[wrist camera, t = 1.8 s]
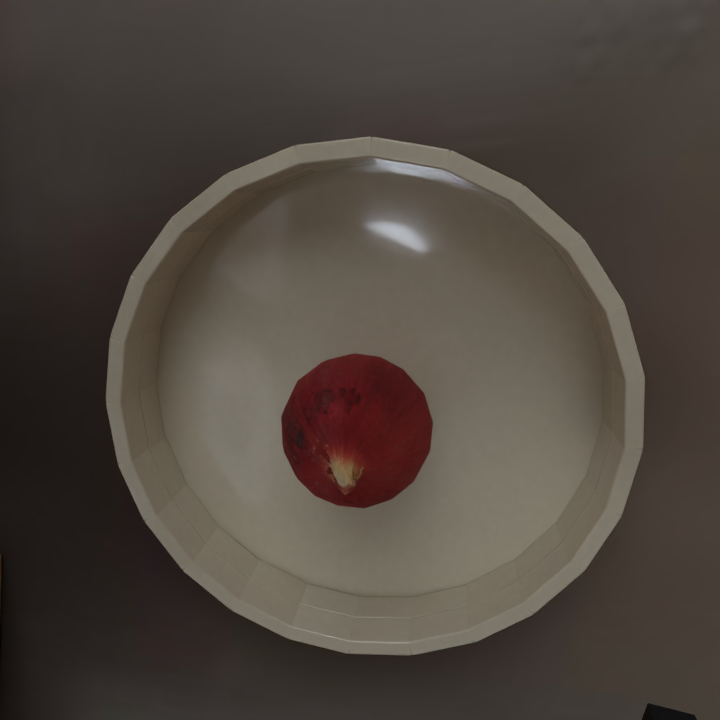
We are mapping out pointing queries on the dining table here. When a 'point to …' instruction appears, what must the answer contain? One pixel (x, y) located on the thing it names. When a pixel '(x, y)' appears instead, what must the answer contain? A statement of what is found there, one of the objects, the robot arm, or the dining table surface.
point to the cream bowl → (404, 349)
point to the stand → (0, 588)
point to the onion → (356, 430)
